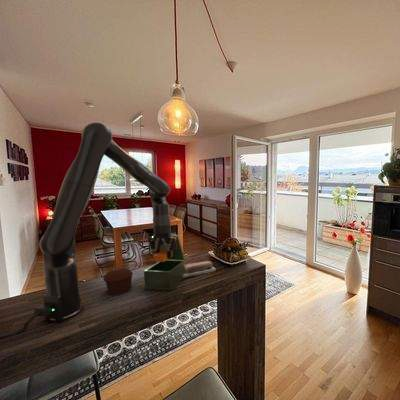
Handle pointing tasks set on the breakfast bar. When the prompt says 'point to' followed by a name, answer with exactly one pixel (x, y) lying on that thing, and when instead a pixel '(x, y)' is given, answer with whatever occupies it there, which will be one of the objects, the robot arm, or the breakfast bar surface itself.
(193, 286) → the breakfast bar surface
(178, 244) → the lid
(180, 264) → the green box
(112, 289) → the muffin
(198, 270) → the packaged product
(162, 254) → the block
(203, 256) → the breakfast bar surface
